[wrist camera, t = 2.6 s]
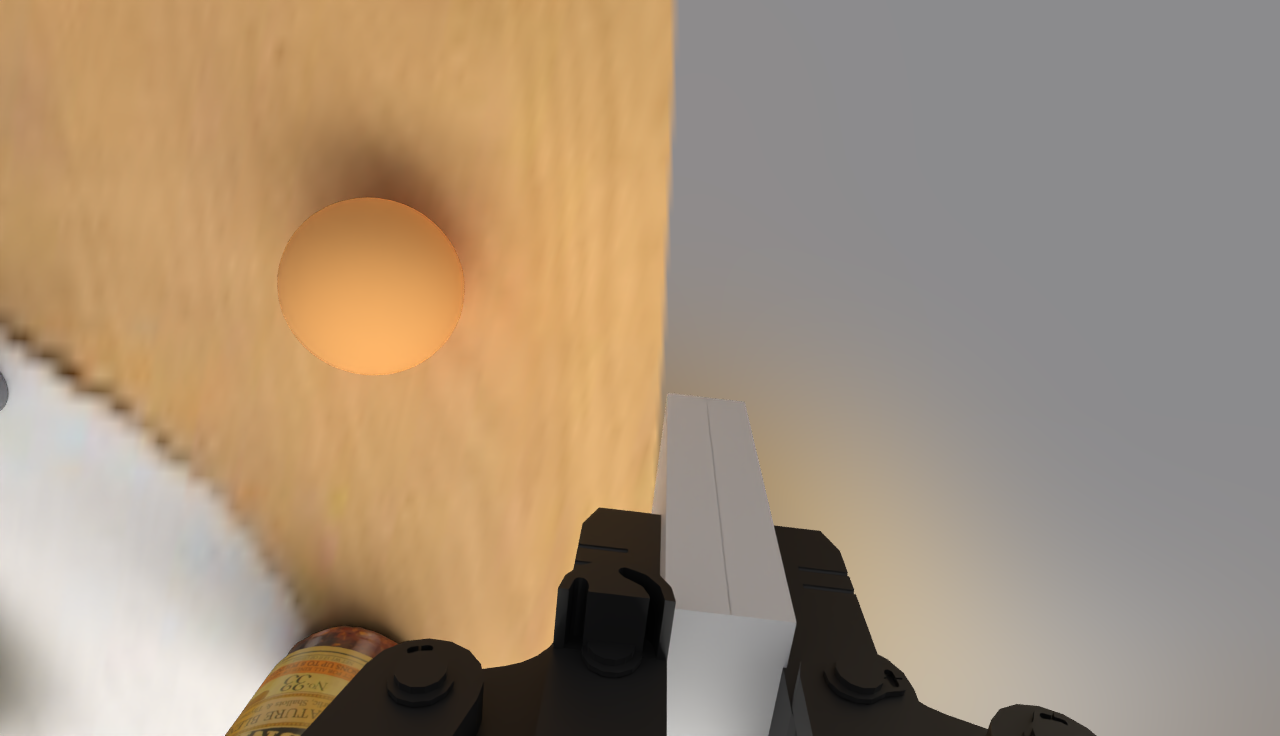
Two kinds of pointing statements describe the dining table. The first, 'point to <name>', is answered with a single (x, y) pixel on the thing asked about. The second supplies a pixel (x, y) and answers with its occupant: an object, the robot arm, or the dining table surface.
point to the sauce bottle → (308, 681)
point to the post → (3, 392)
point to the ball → (370, 286)
